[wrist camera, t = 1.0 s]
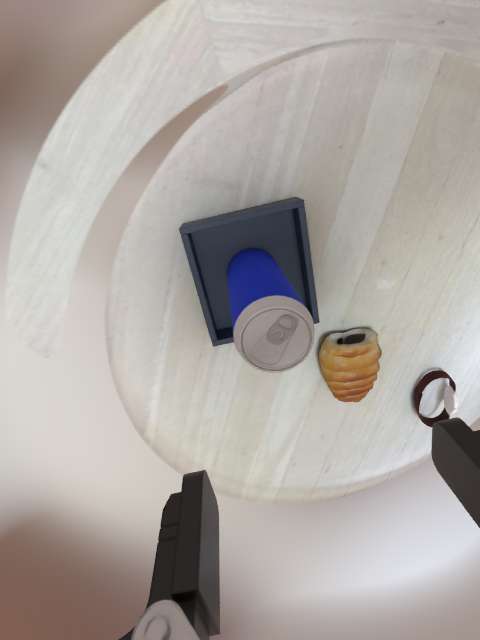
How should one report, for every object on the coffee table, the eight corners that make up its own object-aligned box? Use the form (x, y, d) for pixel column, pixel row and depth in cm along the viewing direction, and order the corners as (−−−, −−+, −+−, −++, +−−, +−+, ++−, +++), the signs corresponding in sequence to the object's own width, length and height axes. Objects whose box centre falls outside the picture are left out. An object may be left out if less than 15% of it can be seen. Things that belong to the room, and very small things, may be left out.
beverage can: (260, 304, 35) (288, 388, 22) (217, 281, 34) (218, 356, 20) (286, 262, 34) (335, 325, 20) (243, 237, 32) (263, 285, 19)
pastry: (373, 388, 41) (387, 408, 38) (320, 398, 42) (329, 419, 38) (372, 322, 38) (388, 338, 34) (314, 333, 38) (323, 350, 34)
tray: (182, 223, 32) (178, 228, 29) (296, 196, 31) (303, 199, 29) (213, 333, 37) (213, 346, 34) (311, 311, 37) (319, 322, 34)
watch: (441, 414, 44) (460, 433, 41) (407, 418, 44) (422, 438, 41) (452, 364, 41) (472, 382, 37) (414, 369, 41) (432, 386, 37)
